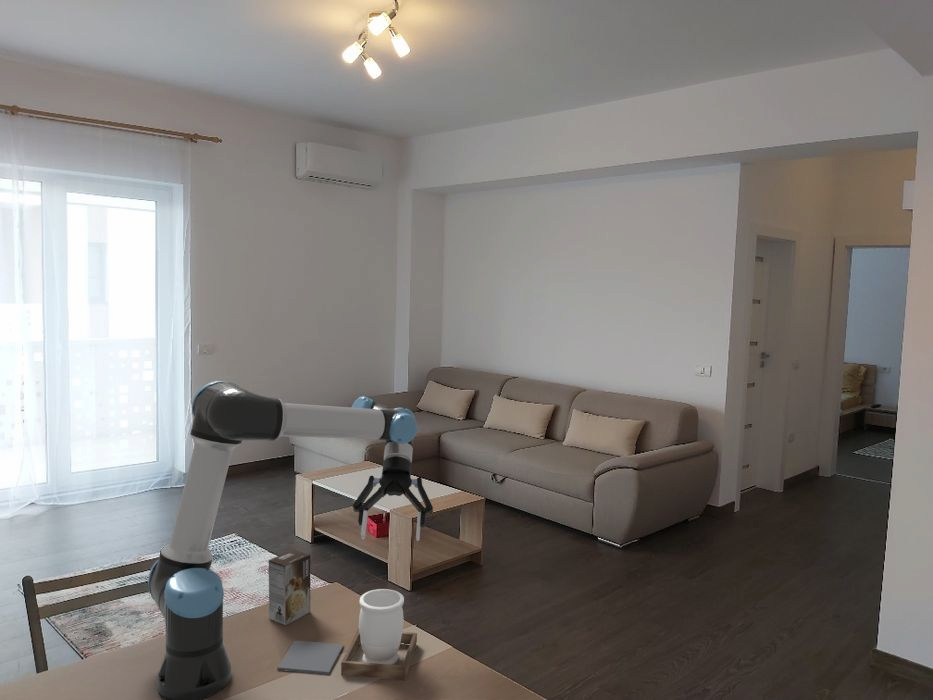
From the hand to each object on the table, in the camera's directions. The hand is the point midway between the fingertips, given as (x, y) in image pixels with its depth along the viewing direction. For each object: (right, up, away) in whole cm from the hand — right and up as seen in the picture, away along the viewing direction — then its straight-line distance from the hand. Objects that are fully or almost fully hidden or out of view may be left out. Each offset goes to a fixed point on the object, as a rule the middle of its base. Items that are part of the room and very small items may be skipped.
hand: (390, 538), depth 174 cm
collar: (-1, -26, -8) cm, 28 cm away
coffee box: (-28, -24, +11) cm, 38 cm away
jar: (-1, -27, -8) cm, 28 cm away
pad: (-18, -26, -9) cm, 32 cm away
